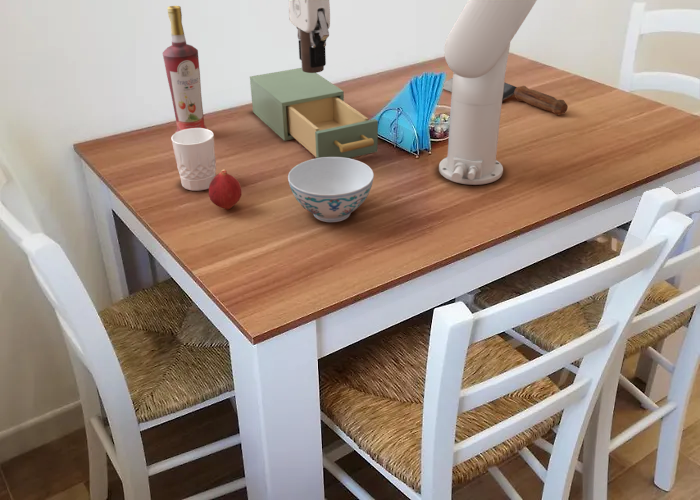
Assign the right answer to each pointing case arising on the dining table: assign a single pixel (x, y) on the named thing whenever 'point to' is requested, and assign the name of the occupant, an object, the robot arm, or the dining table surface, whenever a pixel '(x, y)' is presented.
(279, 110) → the cabinet
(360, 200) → the chinaware
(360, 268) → the dining table surface
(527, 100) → the meat cleaver
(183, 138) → the white cup
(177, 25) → the liquor
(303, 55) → the pepper mill
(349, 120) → the drawer
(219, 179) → the onion
